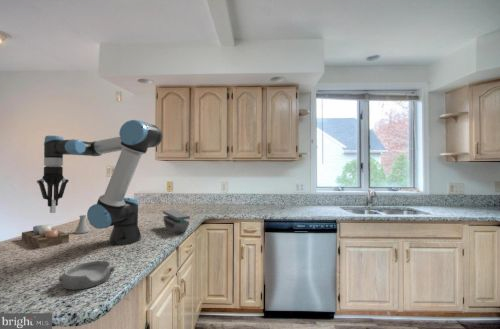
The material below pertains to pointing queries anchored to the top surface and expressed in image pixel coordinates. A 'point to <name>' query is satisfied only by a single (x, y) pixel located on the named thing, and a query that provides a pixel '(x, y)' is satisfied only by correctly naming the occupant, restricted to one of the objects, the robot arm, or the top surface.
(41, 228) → the off-white round ball
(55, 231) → the peach orange ball
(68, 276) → the dish
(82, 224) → the flask
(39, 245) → the wooden egg tray
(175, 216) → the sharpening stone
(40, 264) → the top surface
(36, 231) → the blue rounded lump
